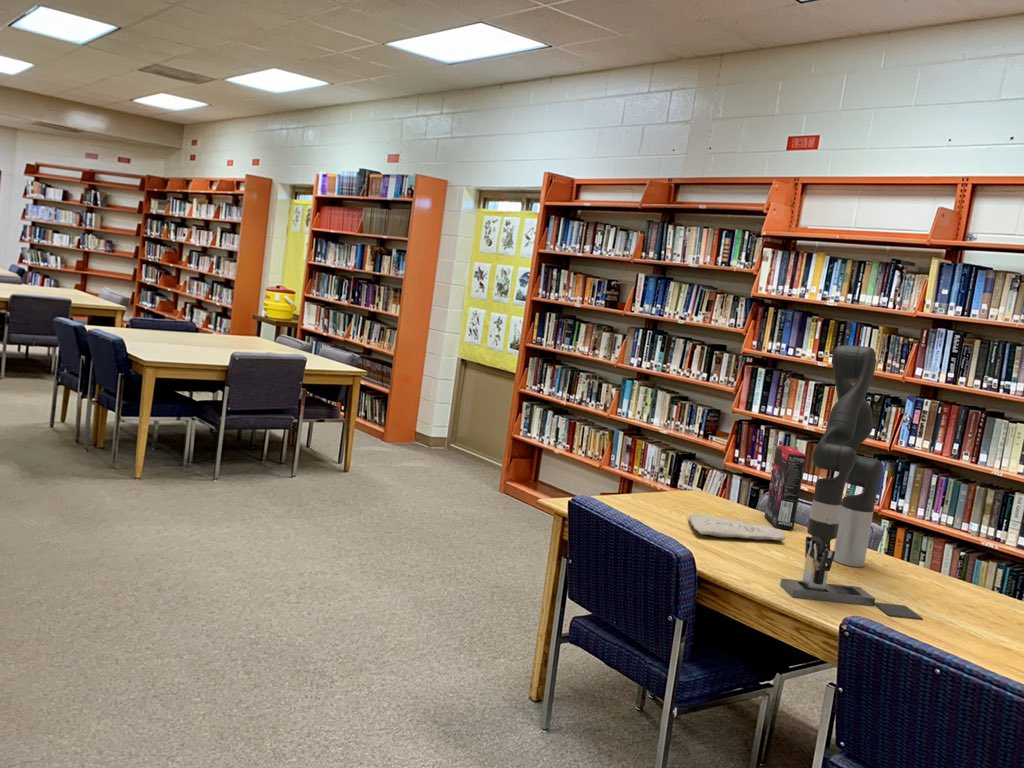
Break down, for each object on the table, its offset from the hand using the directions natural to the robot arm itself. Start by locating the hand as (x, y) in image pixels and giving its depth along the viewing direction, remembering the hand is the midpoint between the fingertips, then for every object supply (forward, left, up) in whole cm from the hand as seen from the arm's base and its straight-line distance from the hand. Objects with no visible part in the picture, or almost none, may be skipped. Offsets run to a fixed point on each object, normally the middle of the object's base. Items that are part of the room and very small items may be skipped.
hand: (814, 580), depth 229 cm
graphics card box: (-78, +19, -4) cm, 80 cm away
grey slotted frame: (0, +4, -4) cm, 5 cm away
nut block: (0, 0, -3) cm, 3 cm away
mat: (+7, +20, -4) cm, 21 cm away
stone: (-55, -4, -4) cm, 55 cm away
